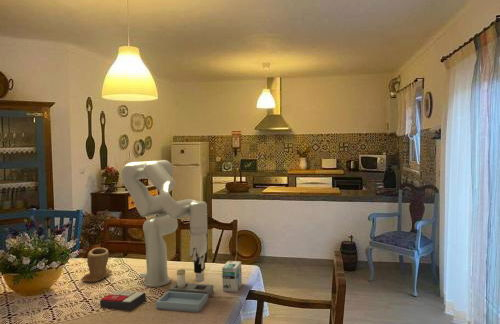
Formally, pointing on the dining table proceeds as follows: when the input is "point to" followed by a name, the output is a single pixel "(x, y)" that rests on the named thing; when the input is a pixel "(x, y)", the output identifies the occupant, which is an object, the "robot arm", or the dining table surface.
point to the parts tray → (182, 301)
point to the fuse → (181, 278)
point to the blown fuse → (200, 276)
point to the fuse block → (193, 288)
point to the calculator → (123, 300)
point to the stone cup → (97, 264)
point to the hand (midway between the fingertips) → (199, 270)
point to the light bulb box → (232, 276)
